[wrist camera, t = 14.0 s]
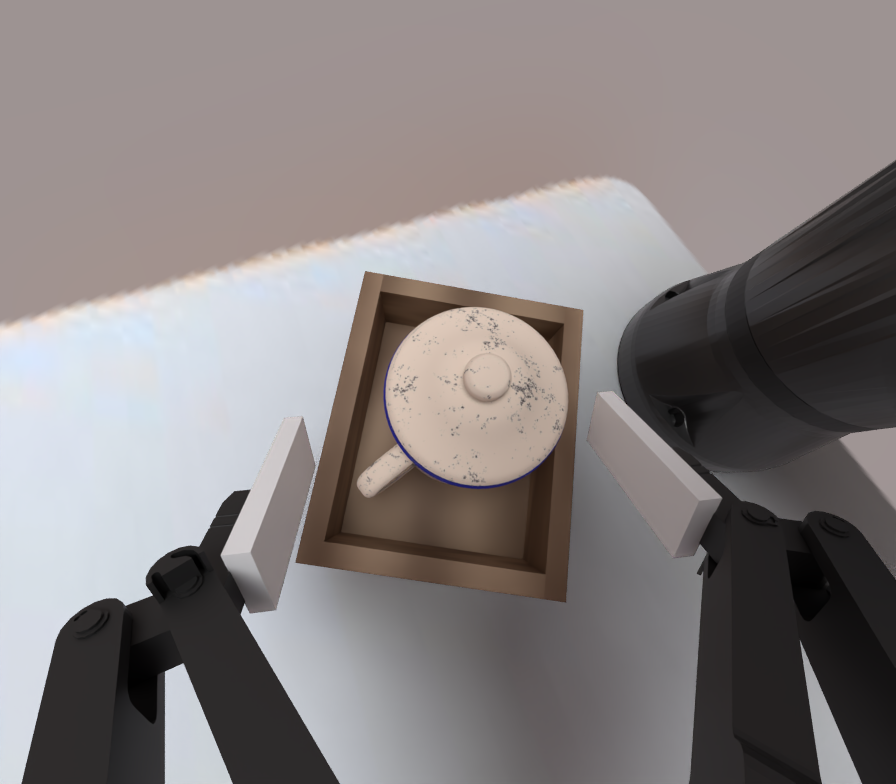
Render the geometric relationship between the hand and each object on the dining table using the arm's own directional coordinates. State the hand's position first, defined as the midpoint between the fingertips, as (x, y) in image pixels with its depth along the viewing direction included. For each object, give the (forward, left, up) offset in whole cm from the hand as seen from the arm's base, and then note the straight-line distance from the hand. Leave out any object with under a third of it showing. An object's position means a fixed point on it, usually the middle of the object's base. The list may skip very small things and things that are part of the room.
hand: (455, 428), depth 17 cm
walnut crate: (0, -1, -10) cm, 10 cm away
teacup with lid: (0, -1, -10) cm, 10 cm away
